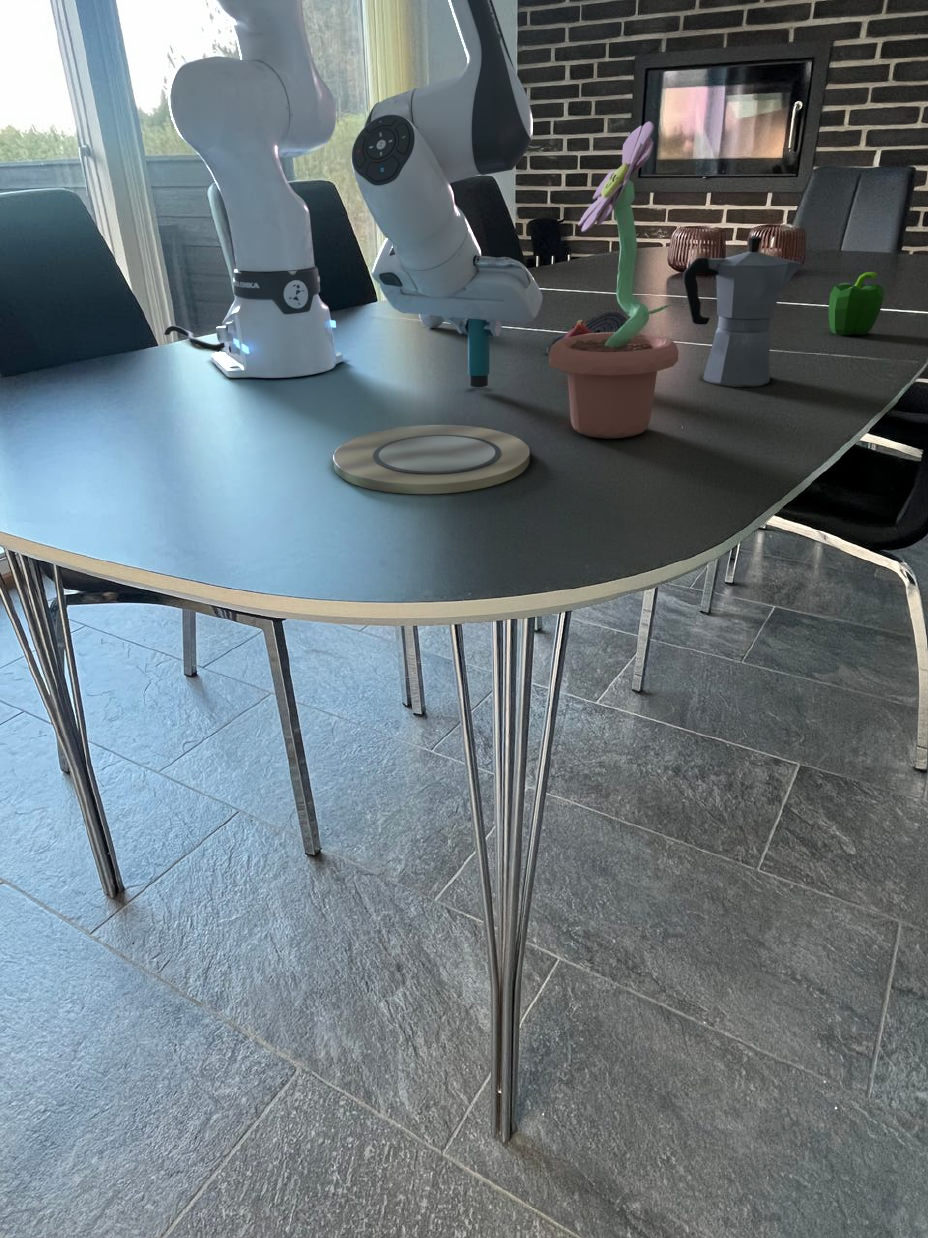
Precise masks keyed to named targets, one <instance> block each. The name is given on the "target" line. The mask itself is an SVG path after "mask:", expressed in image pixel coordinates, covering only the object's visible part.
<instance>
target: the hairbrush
mask: <svg viewBox="0 0 928 1238" xmlns="http://www.w3.org/2000/svg"><path fill="white" fill-rule="evenodd" d="M605 309H606V310H605V312H603V311H600V310H598V311H597V310H595V313H597V312H598V313H600V314H598V313H597V314H596V315H595V316H592V317H588V319H587V316H585V318H583V319H582V320H583V321H585V322H586V324H585V326H586V328H587V329H589V330H590V331H591V332H592V333H602V332H616V331H617V330H619V329H620V328H621V327H622V326H623V325H624V324H625V323H626V322H627V321H628V318H627V317H626V316H624V314H623V311H619V312H618V311H616V310H618V308H617V307H616V309H615V307H613V311H610V307H605ZM607 309H608V310H609V311H608V310H607ZM590 314H591V315H593V312H591V313H590ZM585 319H586V320H585ZM575 326H576V324H574V325H573V326H572V329H574V328H575ZM568 332H569V331H567V332H564V333H562V334H559V335H558V336H556V337H554V338H552V340H550V342H549V343H548V344H547V345H546V353H547V356H548V357H549V352H550V349H551V346H552V345H553V344H554V343H555V342H556V341H558V340H561V339H563V338H564V337H565V335H566V334H567V333H568Z"/></svg>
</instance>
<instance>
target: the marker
mask: <svg viewBox="0 0 928 1238" xmlns="http://www.w3.org/2000/svg"><path fill="white" fill-rule="evenodd" d="M486 323H487V322H486V320H481V319H469V318H468V334H467V374H468V375H469V386H470V387H472V388H484V387H485V388H486V387H487V386H488V383H489V375H490V336H487V333H486V332H485V331H484V326H485V324H486Z"/></svg>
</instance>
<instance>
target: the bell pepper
mask: <svg viewBox="0 0 928 1238" xmlns="http://www.w3.org/2000/svg"><path fill="white" fill-rule="evenodd" d="M876 277H878V273H877V272H875V271H867V272H864V273H863V274H861V275H859V276H858V279H857V280H856V282H855V284H854V285H853V284H851V283H849V282H841V283H840V284H837V285H834V287H832V290H831V292H830V295H829V302H828V324H829V326H828V327H829V331H830V332H831V333H833V334H835V335H840V336H845V337H846V336H862V335H867V334H868V333H869V332H871V330H872V329H873V327H874V325H875V323H876V321H877V319H878V317H879V315H880V313H881V310H882V305H883V301H884V297H885V289H884V286H883V285H880V284H865V283H864V281H865V279H868V278H869V279H872V280H875V279H876Z"/></svg>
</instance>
